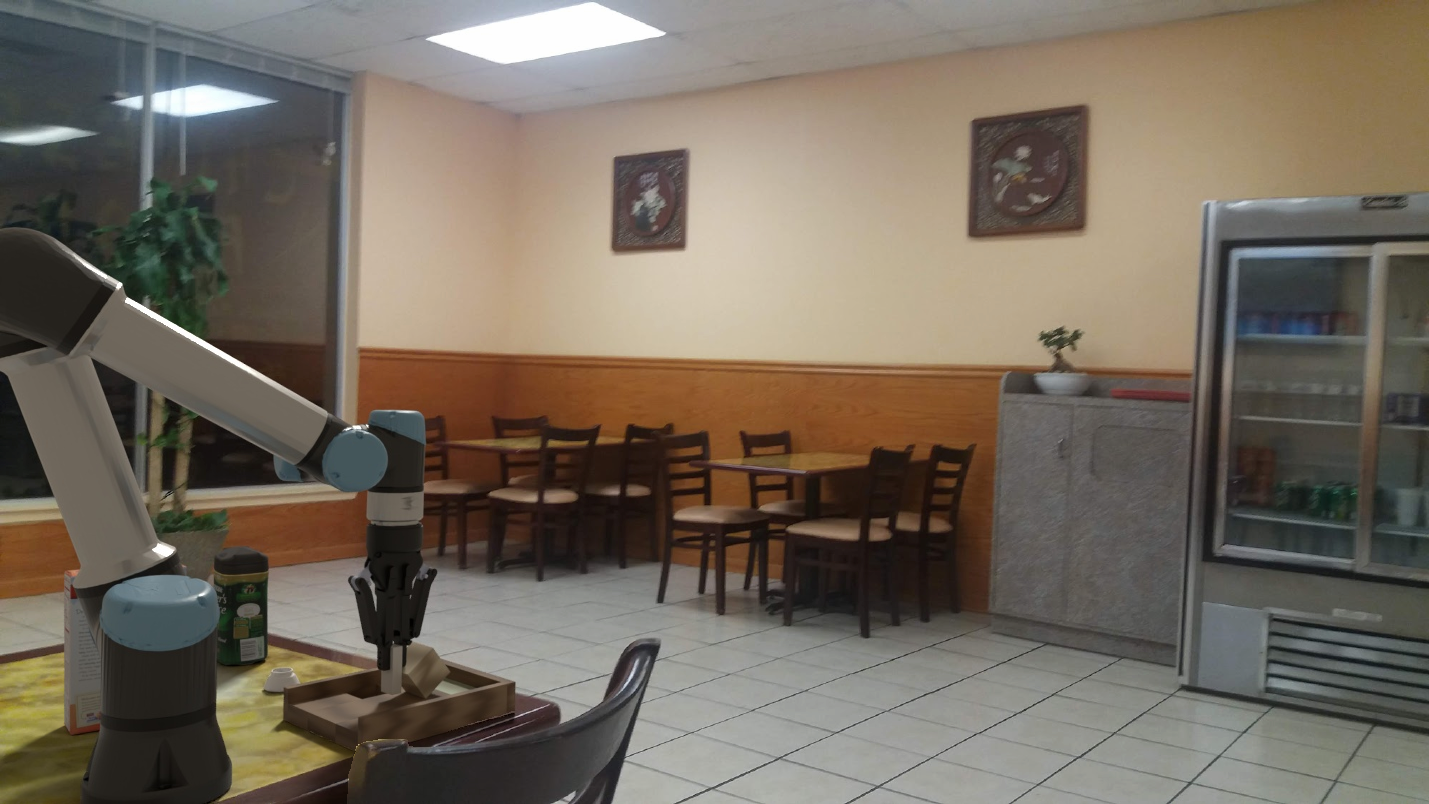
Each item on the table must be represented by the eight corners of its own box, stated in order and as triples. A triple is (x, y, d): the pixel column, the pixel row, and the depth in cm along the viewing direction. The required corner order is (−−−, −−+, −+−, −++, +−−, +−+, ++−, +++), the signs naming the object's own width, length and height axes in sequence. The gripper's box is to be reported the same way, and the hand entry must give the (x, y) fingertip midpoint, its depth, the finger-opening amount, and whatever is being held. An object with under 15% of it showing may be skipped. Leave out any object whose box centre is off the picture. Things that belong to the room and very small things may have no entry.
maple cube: (425, 698, 150) (407, 674, 148) (405, 691, 153) (387, 667, 151) (450, 672, 153) (433, 647, 151) (429, 665, 156) (412, 641, 154)
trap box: (362, 755, 134) (363, 719, 134) (283, 719, 147) (283, 687, 147) (514, 713, 153) (515, 681, 153) (432, 685, 166) (432, 656, 166)
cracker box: (176, 706, 152) (178, 559, 152) (186, 717, 147) (189, 565, 147) (61, 724, 143) (63, 568, 143) (68, 736, 139) (70, 575, 138)
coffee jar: (207, 656, 179) (208, 545, 179) (257, 650, 184) (258, 542, 184) (221, 669, 172) (222, 553, 171) (273, 662, 176) (274, 549, 176)
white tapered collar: (289, 695, 160) (305, 685, 164) (289, 675, 159) (305, 666, 164) (257, 693, 160) (274, 684, 165) (257, 673, 160) (274, 664, 165)
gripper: (368, 528, 141) (363, 707, 141) (450, 520, 151) (446, 688, 151) (337, 522, 146) (333, 696, 146) (419, 515, 156) (415, 678, 156)
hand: (391, 692), depth 149 cm, fingers closed
